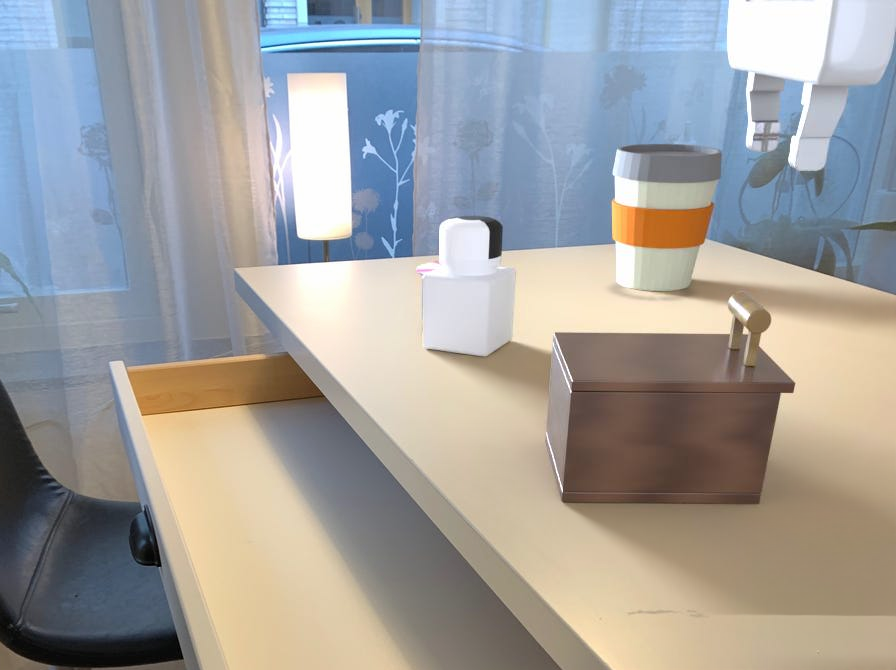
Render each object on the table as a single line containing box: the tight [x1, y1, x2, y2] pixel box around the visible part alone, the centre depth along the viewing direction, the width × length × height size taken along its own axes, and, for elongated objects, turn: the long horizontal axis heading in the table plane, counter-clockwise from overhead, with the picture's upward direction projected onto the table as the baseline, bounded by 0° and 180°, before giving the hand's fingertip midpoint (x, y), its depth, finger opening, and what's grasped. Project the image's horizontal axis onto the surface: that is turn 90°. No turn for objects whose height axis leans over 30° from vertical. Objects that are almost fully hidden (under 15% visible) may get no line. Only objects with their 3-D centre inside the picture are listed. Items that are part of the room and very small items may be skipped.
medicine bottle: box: [421, 214, 517, 357], centre depth 100 cm, size 7×7×12 cm
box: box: [545, 342, 782, 505], centre depth 73 cm, size 14×12×8 cm
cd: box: [416, 260, 442, 276], centre depth 132 cm, size 11×11×1 cm
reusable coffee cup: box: [611, 143, 723, 292], centre depth 123 cm, size 13×12×15 cm
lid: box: [552, 291, 796, 394], centre depth 70 cm, size 14×12×4 cm
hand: (781, 159), depth 65 cm, fingers open, 8 cm apart
